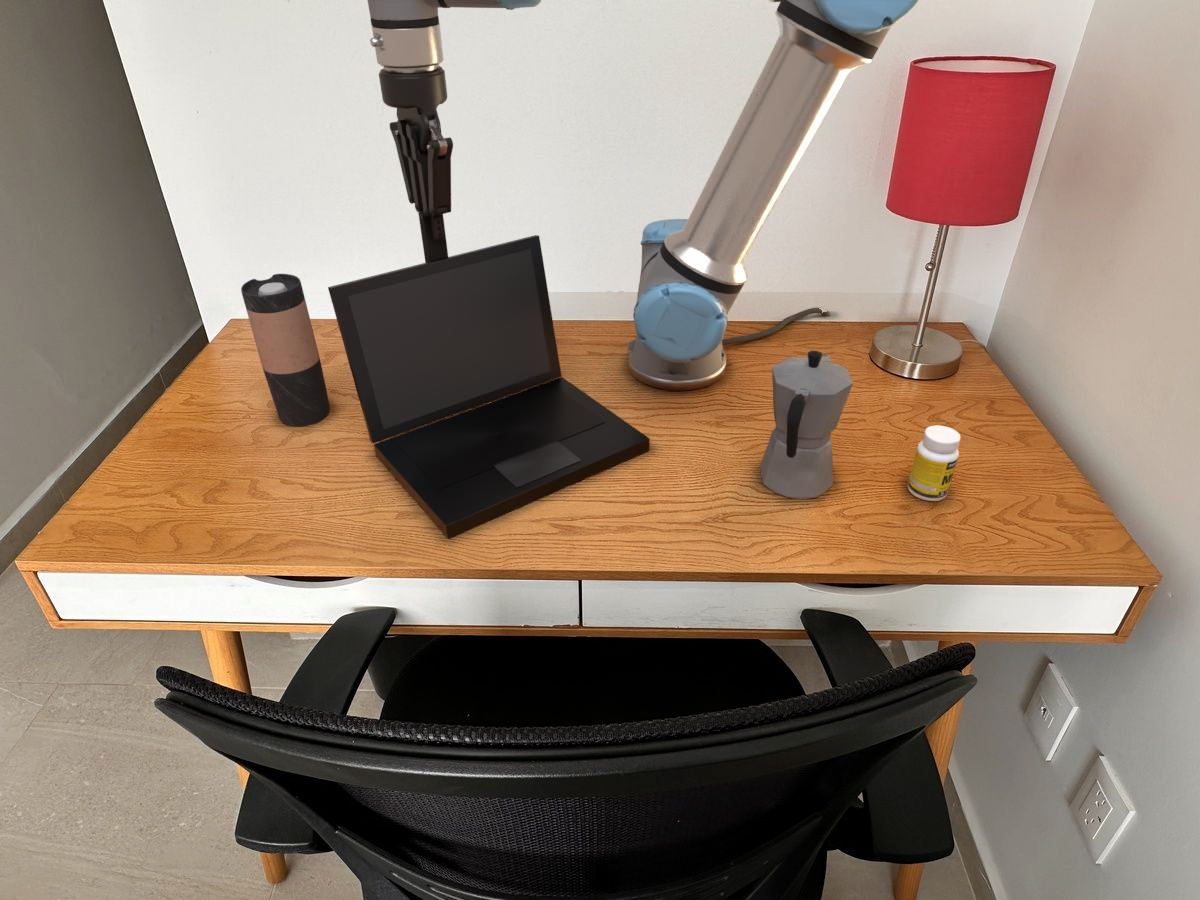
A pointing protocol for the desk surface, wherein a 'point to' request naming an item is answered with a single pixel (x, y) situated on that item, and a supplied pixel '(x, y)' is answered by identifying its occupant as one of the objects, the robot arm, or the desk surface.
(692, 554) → the desk surface
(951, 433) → the supplement bottle
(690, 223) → the robot arm
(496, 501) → the laptop
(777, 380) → the coffeepot
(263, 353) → the travel mug
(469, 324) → the laptop screen
